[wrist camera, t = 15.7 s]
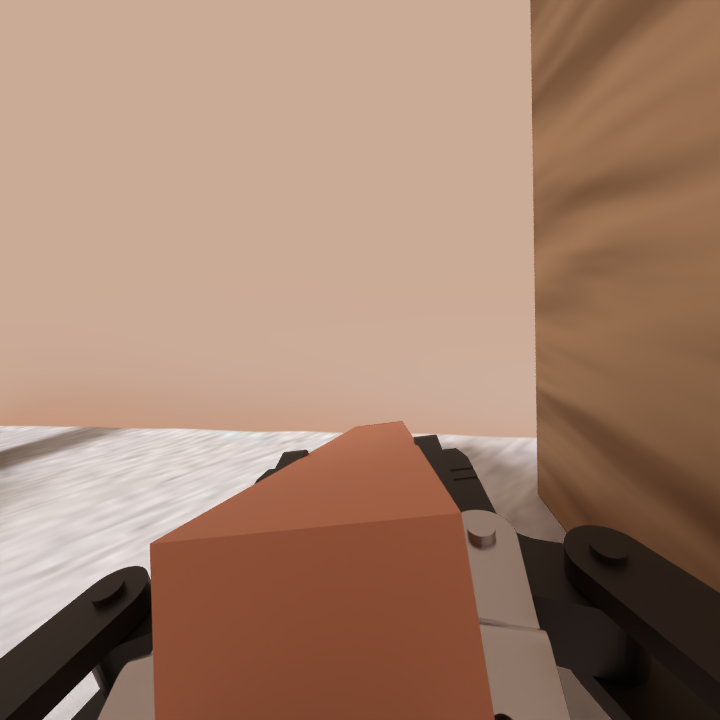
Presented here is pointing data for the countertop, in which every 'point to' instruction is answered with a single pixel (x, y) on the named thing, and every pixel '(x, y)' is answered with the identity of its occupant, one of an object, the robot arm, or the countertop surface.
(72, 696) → the countertop surface
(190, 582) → the rail
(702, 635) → the robot arm
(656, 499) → the post
